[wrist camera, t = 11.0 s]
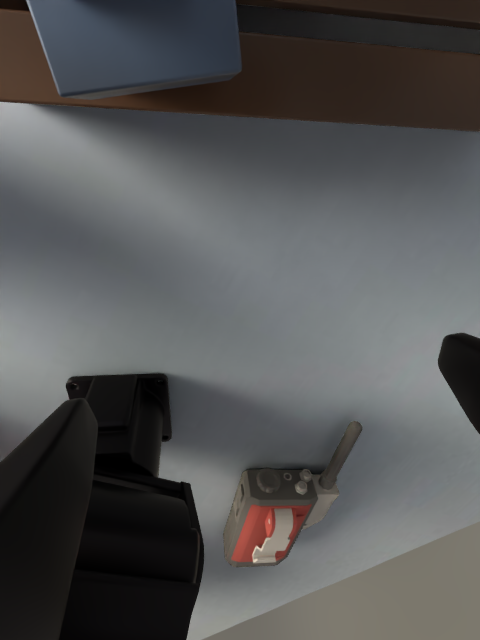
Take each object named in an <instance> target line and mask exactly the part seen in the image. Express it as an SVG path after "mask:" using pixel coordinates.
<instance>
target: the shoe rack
mask: <svg viewBox="0 0 480 640" xmlns="http://www.w3.org/2000/svg"><path fill="white" fill-rule="evenodd" d="M236 4H241V5H250V6H260V7H269V8H279V9H288V10H297V11H307V12H316V13H326V14H335V15H345V16H354V17H363V18H373V19H382V20H392V21H401V22H411V23H420V24H429V25H439V26H448V27H458V28H467V29H476V30H480V0H236ZM239 40H240V50H241V61H242V70H241V72H239V73H238V74H237V75H235V76H234V77H233V78H232V79H230V80H228V81H221V82H214V83H207V84H200V85H192V86H185V87H178V88H171V89H164V90H157V91H150V92H143V93H136V94H129V95H122V96H115V97H108V98H101V99H94V100H87V99H75V98H64V97H61V96H60V95H59V94H58V91H57V88H56V85H55V82H54V79H53V76H52V74H51V71H50V68H49V65H48V62H47V59H46V56H45V53H44V50H43V47H42V44H41V42H40V39H39V36H38V33H37V30H36V27H35V24H34V21H33V18H32V15H31V12H30V9H29V7H28V4H27V1H26V0H0V102H12V103H28V104H44V105H60V106H76V107H92V108H108V109H124V110H140V111H156V112H172V113H188V114H204V115H220V116H236V117H253V118H269V119H285V120H301V121H317V122H333V123H349V124H365V125H381V126H397V127H413V128H429V129H445V130H461V131H477V132H480V54H472V53H462V52H451V51H441V50H430V49H420V48H410V47H399V46H389V45H378V44H368V43H357V42H347V41H336V40H326V39H315V38H305V37H295V36H284V35H274V34H263V33H253V32H242V31H239Z"/></svg>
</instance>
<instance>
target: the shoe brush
mask: <svg viewBox="0 0 480 640" xmlns="http://www.w3.org/2000/svg"><path fill="white" fill-rule="evenodd" d="M26 1H27V4H28V7H29V9H30V12H31V15H32V18H33V21H34V24H35V27H36V30H37V33H38V36H39V39H40V42H41V44H42V47H43V50H44V53H45V56H46V59H47V62H48V65H49V68H50V71H51V74H52V76H53V79H54V82H55V85H56V88H57V91H58V94H59V95H60V96H61V97H64V98H75V99H87V100H94V99H101V98H108V97H115V96H122V95H129V94H136V93H143V92H150V91H157V90H164V89H171V88H178V87H185V86H192V85H200V84H207V83H214V82H221V81H228V80H230V79H232V78H233V77H234V76H235V75H237V74H238V73H239V72H241V70H242V61H241V50H240V40H239V29H238V19H237V8H236V0H26Z"/></svg>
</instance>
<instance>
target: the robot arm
mask: <svg viewBox="0 0 480 640" xmlns="http://www.w3.org/2000/svg"><path fill="white" fill-rule="evenodd" d="M438 366H439V369H440V371H441V373H442V375H443V376H444V378H445V380H446V381H447V383H448V385H449V386H450V388H451V390H452V392H453V393H454V395H455V397H456V398H457V400H458V402H459V403H460V405H461V407H462V409H463V410H464V412H465V414H466V415H467V417H468V418H469V420H470V422H471V423H472V424H473V426H474V427H475V429H476V430H477V432H478V433H479V434H480V338H477V337H474V336H472V335H469V334H466V333H456V334H450V335H447V336H445V338H444V339H443V342H442V346H441V350H440V354H439V358H438ZM158 380H162V382H159V381H158ZM74 384H77V385H74ZM66 389H67V392H68V396H69V399H70V400H67V401H65V402H64V403H63V404H62V405H60V406H59V407H58V408H57V409H56V410H55V411H54V412H53V413H52V414H51V415H50V416H49V417H48V418H47V419H46V420H45V421H44V422H43V423H41V424H40V425H39V426H38V427H37V428H36V429H35V430H34V431H33V432H32V433H31V434H30V435H29V436H28V437H27V438H26V439H25V440H23V441H22V442H21V443H20V444H19V445H18V446H17V447H16V448H15V449H14V450H13V451H12V452H11V453H10V454H9V455H8V456H7V457H6V458H4V459H3V460H2V461H1V462H0V640H186V638H187V634H188V629H189V624H190V619H191V615H192V611H193V608H194V605H195V602H196V599H197V595H198V592H199V587H200V583H201V579H202V572H203V564H204V545H203V538H202V534H201V529H200V525H199V521H198V516H197V512H196V507H195V503H194V499H193V494H192V490H191V485H190V483H186V482H182V481H181V482H180V483H179V482H175V481H170V480H166V479H162V478H158V475H159V464H160V453H161V442H166V441H169V440H170V439H171V437H172V428H171V414H170V401H169V388H168V378H167V376H166V375H164V374H160V373H158V374H131V375H104V376H76V377H71V378H69V379H68V381H67V383H66Z"/></svg>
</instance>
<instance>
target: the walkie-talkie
mask: <svg viewBox="0 0 480 640" xmlns="http://www.w3.org/2000/svg"><path fill="white" fill-rule="evenodd" d="M361 431H362V425H361V424H360V423H359V422H357V421H352V422H350V424H349V426H348V428H347V429H346V431H345V433H344V435H343V437H342V439H341V441H340V443H339V445H338V447H337V449H336V451H335V453H334V455H333V457H332V459H331V461H330V463H329V465H328V466H327V468H326V470H324V471H323V472H322V474H321V475H312V474H311V472H310V471H309V470H308V469H304V470H273V469H270V468H265V469H249V470H246V471H245V472H243V473H242V476H241V479H240V482H239V485H238V489H237V492H236V495H235V498H234V503H233V504H232V505H233V506H232V507H231V508H232V509H231V512H230V515H229V518H228V521H227V524H226V527H225V530H224V533H223V539H224V553H225V560H226V561H227V562H228V563H229V564H230V565H232V566H233V567H253V566H274V565H278V564H279V563H280V562H281V561H283V560H284V559H285V558H286V557H287V556H288V555H289V552H290V550H291V549H292V547H293V544H294V543H295V541H296V539H297V538H298V535H299V533H300V532H301V530H302V529H306V528H308V527H310V526H312V525H314V524H315V523H317V522H319V521H321V520H322V519H323V518H324V517H325V515H326V513H327V511H328V510H329V508H330V506H331V505H332V503H333V501H334V500H335V499H337V497H338V495H339V490H338V488H337V485H336V483H335V482H336V480H337V475H338V473H339V471H340V470H341V468H342V466H343V464H344V462H345V460H346V459H347V457H348V455H349V453H350V451H351V449H352V448H353V446H354V444H355V442H356V440H357V439H358V437H359V435H360V433H361Z"/></svg>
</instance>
